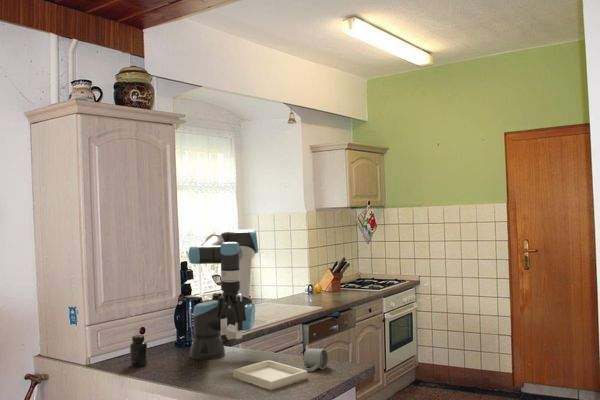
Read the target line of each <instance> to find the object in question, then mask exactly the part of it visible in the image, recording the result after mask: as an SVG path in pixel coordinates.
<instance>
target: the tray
mask: <svg viewBox="0 0 600 400" xmlns="http://www.w3.org/2000/svg"><path fill="white" fill-rule="evenodd" d="M232 377H233V379H237V380H239V381H243V382H245V383H249V384H251V383H252V384H251V385H254V384H255V385H254V386H257V385H258V386H257V387H260V386H261V387H260V388H263V389H266V390H270V391H274V390H277V389H281V388H282V387H283V388H284V387H286V386H290V385H293V384H296V383H298V382H302V381H305V380H307V379H308V371H306V370H304V368H303V369H302V368H298V367H295V366H292V365H288V364H284V363H281V362H277V361H274V360H270V359H268V360H264V361H259V362H256V363H251V364H249V365H246V366H241V367H238V368H233V369H232Z"/></svg>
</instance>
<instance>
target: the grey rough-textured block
mask: <svg viewBox="0 0 600 400" xmlns="http://www.w3.org/2000/svg"><path fill="white" fill-rule="evenodd" d="M225 334H226V337H227V339H226V340H234V339H235V340H236V332H235V325H231V324H229V325H228V326H227V327H226V329H225Z"/></svg>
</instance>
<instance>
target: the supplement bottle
mask: <svg viewBox="0 0 600 400" xmlns="http://www.w3.org/2000/svg"><path fill="white" fill-rule="evenodd" d="M131 341H132V342H131V343H130V345H129V354H130V355H129V359H130V366H131V367H133V368H141V367H145V366H147V365H148V344H147V342H146V341H145V335H143V334H136V335H132V336H131Z"/></svg>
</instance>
